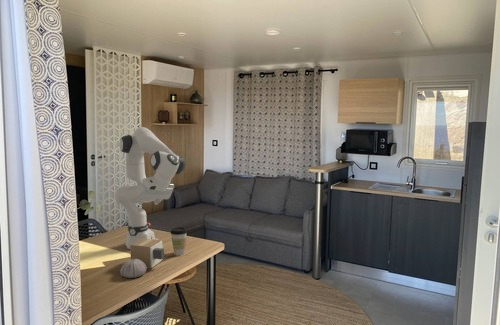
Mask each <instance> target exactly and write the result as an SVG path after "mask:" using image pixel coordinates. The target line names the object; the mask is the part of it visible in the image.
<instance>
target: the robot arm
mask: <svg viewBox="0 0 500 325" xmlns="http://www.w3.org/2000/svg"><path fill="white" fill-rule="evenodd" d="M118 144H119V149H120V152H122V153H123V154H124V153H125V154H126V156H125V173H126V177H127V178H128V179H129V180H131V181H134V182H136V183H137V184H136V185H126V186H120V187H117V188H116V189H115V192H114V199H115V202H116V203H118V204H119V205H121V206H122V207H123V208H124V209H125V211H126V214H127V222H128V223H127V224H128V225H127V232H126V242H125V243H124V245H125V246H126V249H127V250H130V245H131V244H133V243H135V242H136V241H138V240H140V239H142V238H144V239H155V240H159V238H157V237H156V236H155V232H154V231H153V230H151V229H150V228H149V227H150V226H151V223H150V222H147V220H148V219H147V212H146V211H145V209H143V208H140V207H138V206H137V205H136V204H139V205H140V206H143V205H144V203H151V202H153V204H154V205H155V206H158V205H159V203H161V202H162V201H164V200H169V199H170V198H171V196H172V194H173V190H174V189H175V185H174V183H171V181H172V179H173V178H174V177H175V175H176V176H177V175H180V174H181V173H182V172H183V171H184V170H185V168H186V161H185V159H184V157H183V156H182V155H178V154H176V153H175V151H173V150H172V149H171V148H170V147H169V146H167V145H166V144H165V143H164V142H162V141H161V140H160V138H158V137H157V135H156V134H155V133H154V132H152V131H151V130H150V129H149V128H147V127H144V126H139V127H138V128H136V129H135V130H134V133H133V134H126V135H123V136H121V138H120V139H119V142H118ZM145 153H146V154H147V155H148V154H151V157H150V159H149V164H150V167H151V168H152V169H153V170H154V171H155V173H154V175H152V176H149V177H147V176H146V169H145V156H144V154H145Z"/></svg>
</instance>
